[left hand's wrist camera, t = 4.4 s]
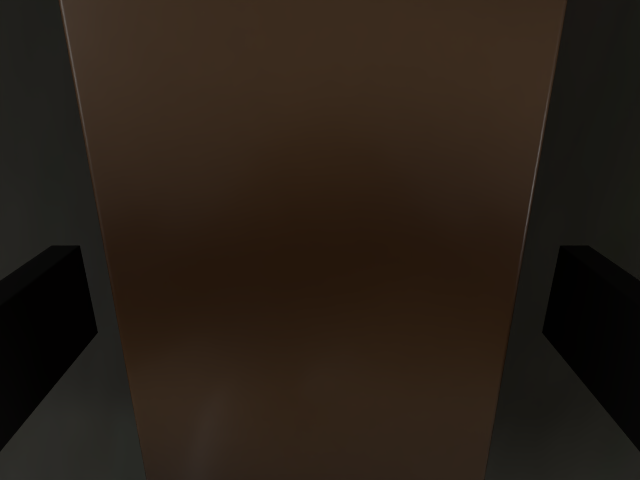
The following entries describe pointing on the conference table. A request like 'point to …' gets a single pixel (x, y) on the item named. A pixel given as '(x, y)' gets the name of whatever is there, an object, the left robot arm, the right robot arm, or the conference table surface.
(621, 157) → the conference table surface
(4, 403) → the left robot arm
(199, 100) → the beam
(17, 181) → the conference table surface
